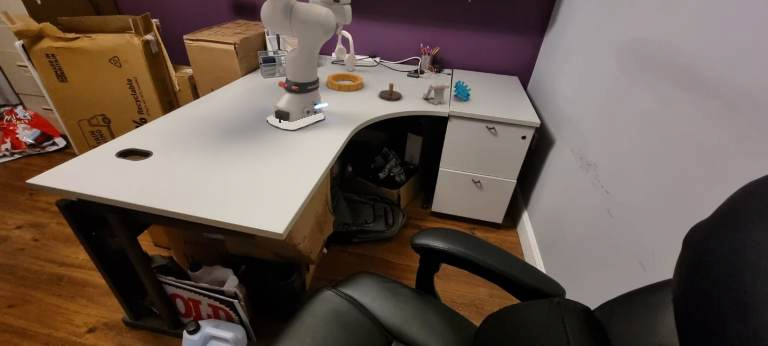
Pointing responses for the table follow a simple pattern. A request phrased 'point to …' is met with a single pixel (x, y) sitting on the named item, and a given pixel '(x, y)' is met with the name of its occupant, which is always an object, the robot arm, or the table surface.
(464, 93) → the gear
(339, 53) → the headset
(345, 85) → the mustard ring
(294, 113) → the robot arm
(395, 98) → the ring stand
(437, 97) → the tablet stand
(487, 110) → the table surface
